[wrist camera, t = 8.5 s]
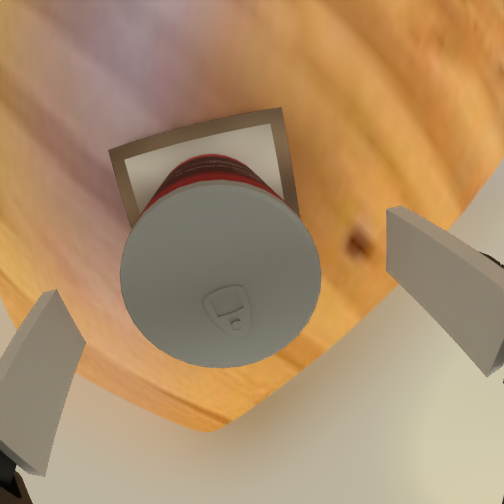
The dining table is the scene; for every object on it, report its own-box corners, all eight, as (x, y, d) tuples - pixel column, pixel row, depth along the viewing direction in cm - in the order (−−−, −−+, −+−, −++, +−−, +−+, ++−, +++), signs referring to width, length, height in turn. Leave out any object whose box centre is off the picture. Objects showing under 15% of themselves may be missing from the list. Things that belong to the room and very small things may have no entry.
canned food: (204, 281, 23) (210, 393, 13) (133, 199, 20) (75, 273, 10) (289, 221, 22) (355, 304, 12) (223, 129, 19) (245, 135, 9)
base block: (125, 144, 23) (107, 150, 18) (266, 110, 24) (281, 107, 19) (164, 271, 28) (157, 301, 23) (289, 240, 29) (307, 265, 24)
